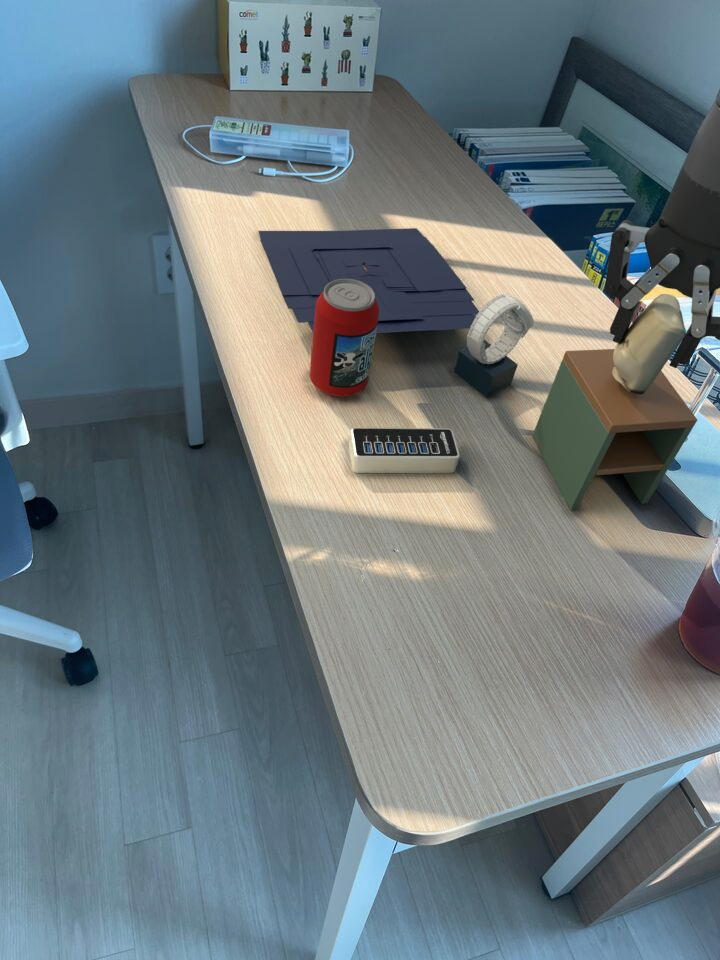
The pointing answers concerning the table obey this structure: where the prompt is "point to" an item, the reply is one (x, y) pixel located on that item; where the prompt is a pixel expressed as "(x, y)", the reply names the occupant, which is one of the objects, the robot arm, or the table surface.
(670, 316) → the beige rounded block
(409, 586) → the table surface
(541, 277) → the table surface
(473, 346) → the watch
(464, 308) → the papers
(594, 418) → the shelf
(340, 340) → the beverage can
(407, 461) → the multiport hub
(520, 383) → the table surface
